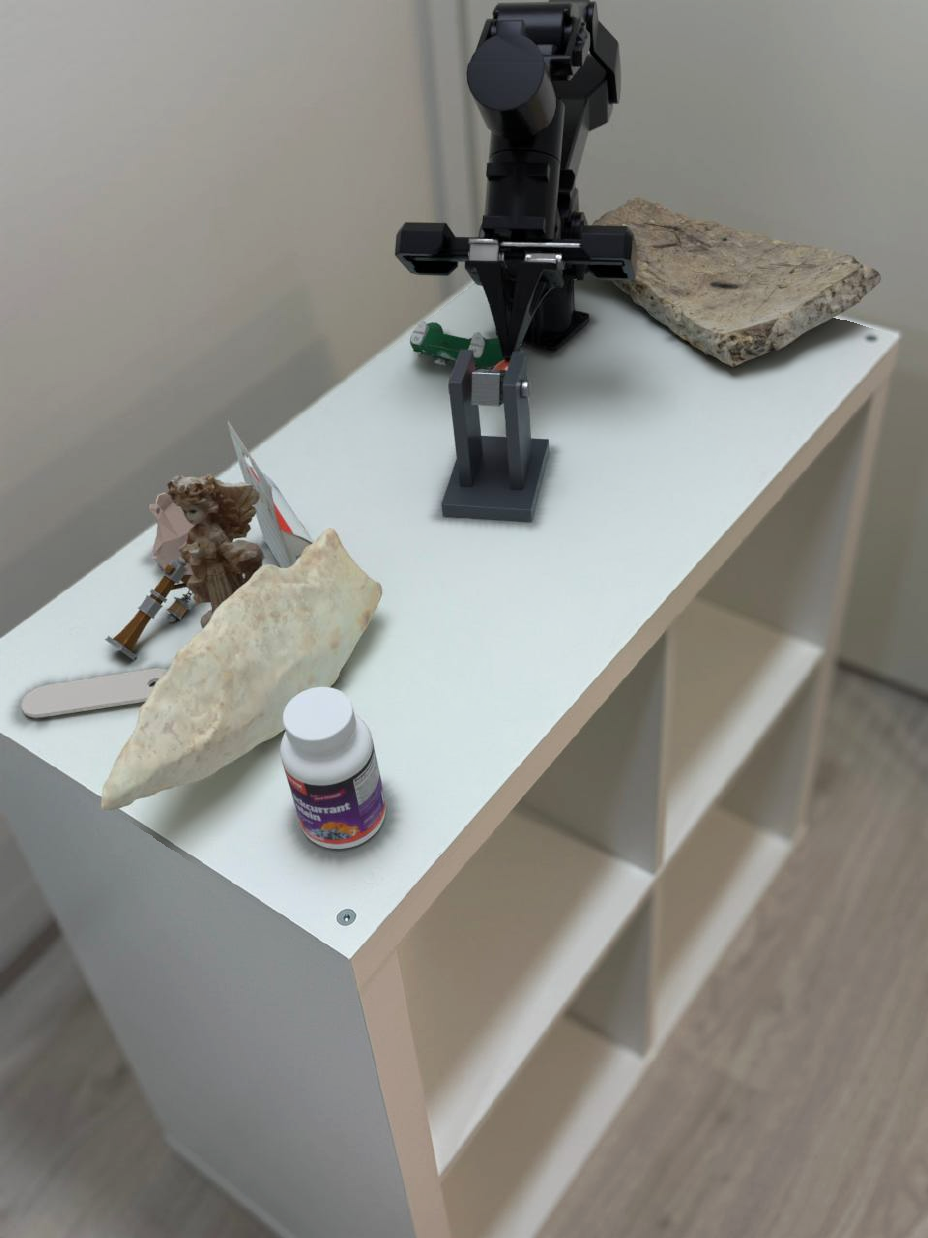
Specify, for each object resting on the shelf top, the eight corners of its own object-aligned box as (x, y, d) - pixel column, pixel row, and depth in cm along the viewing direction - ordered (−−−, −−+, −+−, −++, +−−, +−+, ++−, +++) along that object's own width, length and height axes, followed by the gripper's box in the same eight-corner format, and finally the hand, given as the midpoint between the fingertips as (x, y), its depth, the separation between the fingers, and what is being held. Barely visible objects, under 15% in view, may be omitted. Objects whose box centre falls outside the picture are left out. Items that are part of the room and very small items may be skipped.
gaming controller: (423, 364, 116) (394, 349, 110) (434, 324, 115) (405, 307, 110) (512, 384, 112) (487, 370, 107) (524, 342, 112) (499, 326, 106)
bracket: (465, 446, 103) (453, 332, 96) (549, 450, 102) (544, 335, 94) (442, 516, 97) (427, 400, 90) (531, 522, 96) (524, 404, 88)
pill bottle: (284, 838, 76) (252, 735, 70) (324, 772, 80) (297, 668, 73) (364, 862, 75) (339, 759, 68) (401, 793, 78) (380, 688, 71)
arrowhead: (268, 510, 87) (54, 757, 70) (342, 499, 84) (137, 756, 67) (328, 624, 92) (142, 881, 75) (400, 618, 89) (224, 885, 72)
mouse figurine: (220, 600, 92) (199, 530, 88) (141, 566, 96) (116, 498, 91) (264, 558, 95) (246, 488, 91) (186, 527, 99) (164, 459, 94)
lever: (493, 394, 103) (494, 356, 102) (529, 395, 102) (531, 358, 101) (465, 408, 93) (465, 367, 92) (504, 410, 92) (506, 369, 91)
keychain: (174, 700, 85) (177, 671, 88) (172, 694, 85) (175, 665, 87) (20, 723, 85) (27, 694, 87) (17, 717, 85) (25, 688, 87)
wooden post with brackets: (219, 585, 92) (187, 556, 88) (153, 673, 91) (118, 649, 87) (203, 575, 93) (171, 546, 89) (138, 663, 92) (102, 638, 88)
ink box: (291, 526, 97) (262, 404, 89) (336, 597, 91) (309, 472, 83) (256, 539, 97) (224, 417, 89) (299, 611, 90) (268, 486, 82)
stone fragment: (767, 397, 105) (904, 301, 114) (774, 336, 101) (916, 240, 110) (529, 284, 120) (666, 207, 129) (527, 227, 116) (668, 151, 125)
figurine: (178, 669, 87) (119, 501, 77) (219, 611, 91) (167, 444, 81) (273, 690, 85) (224, 520, 75) (310, 630, 89) (269, 461, 78)
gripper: (648, 199, 106) (633, 383, 106) (433, 196, 109) (418, 374, 109) (639, 149, 95) (622, 355, 95) (401, 148, 98) (385, 346, 99)
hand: (508, 358), depth 100 cm, fingers closed, pressing on lever
